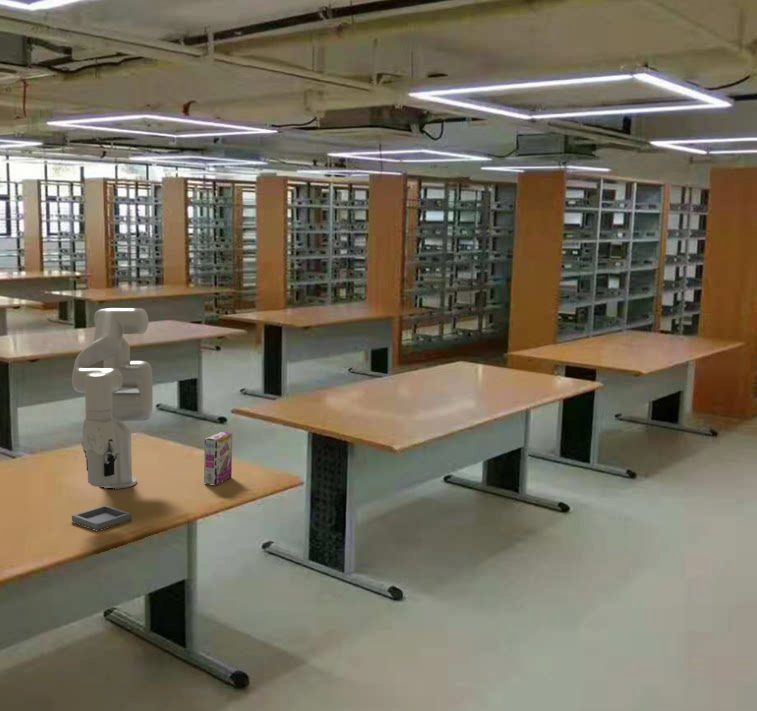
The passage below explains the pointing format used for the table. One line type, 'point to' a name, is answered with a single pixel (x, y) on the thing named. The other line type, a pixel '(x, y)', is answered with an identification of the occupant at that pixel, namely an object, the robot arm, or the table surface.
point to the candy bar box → (218, 458)
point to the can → (97, 469)
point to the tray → (101, 517)
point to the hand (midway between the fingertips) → (100, 472)
